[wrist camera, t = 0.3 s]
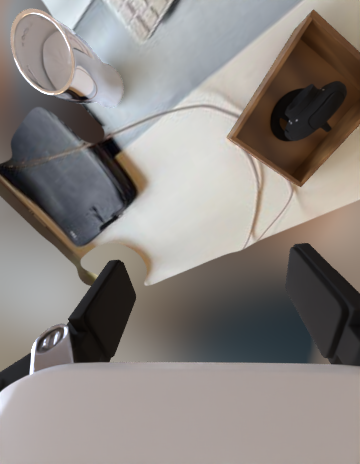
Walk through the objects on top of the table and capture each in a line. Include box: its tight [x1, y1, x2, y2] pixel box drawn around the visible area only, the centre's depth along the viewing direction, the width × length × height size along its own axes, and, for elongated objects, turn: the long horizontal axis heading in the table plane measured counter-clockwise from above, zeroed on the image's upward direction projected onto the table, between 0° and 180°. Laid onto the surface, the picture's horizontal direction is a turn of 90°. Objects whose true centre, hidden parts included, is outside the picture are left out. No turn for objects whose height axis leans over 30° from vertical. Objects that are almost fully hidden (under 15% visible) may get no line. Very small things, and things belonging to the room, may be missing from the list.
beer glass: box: [11, 9, 124, 108], centre depth 25 cm, size 7×7×15 cm
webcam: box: [270, 81, 347, 142], centre depth 27 cm, size 8×8×10 cm
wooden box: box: [227, 10, 360, 187], centre depth 29 cm, size 16×15×5 cm
